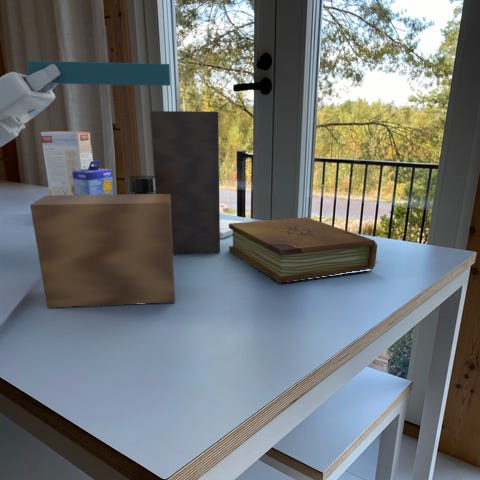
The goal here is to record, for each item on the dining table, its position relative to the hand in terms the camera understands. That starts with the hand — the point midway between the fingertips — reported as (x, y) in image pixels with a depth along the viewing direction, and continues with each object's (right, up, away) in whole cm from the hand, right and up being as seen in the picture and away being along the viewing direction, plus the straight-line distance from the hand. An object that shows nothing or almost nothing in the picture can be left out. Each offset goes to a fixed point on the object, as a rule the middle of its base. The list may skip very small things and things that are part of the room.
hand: (61, 69), depth 76 cm
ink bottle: (+6, -18, +40) cm, 44 cm away
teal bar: (+6, -2, +2) cm, 7 cm away
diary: (+39, -29, +14) cm, 51 cm away
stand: (+18, -25, +22) cm, 38 cm away
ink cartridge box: (-10, -12, +53) cm, 55 cm away
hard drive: (+24, -19, +37) cm, 48 cm away
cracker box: (-23, -4, +72) cm, 76 cm away
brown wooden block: (+10, -37, -4) cm, 38 cm away
